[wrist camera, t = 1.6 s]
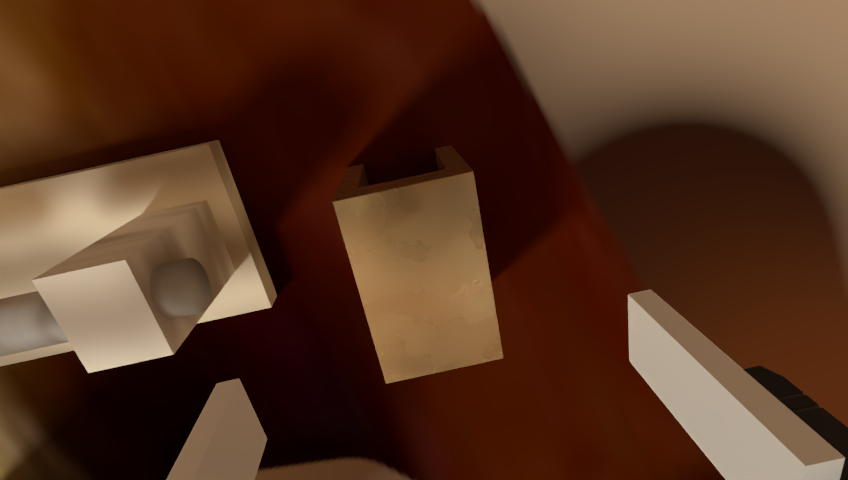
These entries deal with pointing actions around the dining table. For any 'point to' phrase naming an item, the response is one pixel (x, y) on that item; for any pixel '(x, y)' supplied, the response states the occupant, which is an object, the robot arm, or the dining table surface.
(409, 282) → the block
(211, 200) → the shaft rig
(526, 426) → the dining table surface
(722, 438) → the robot arm
